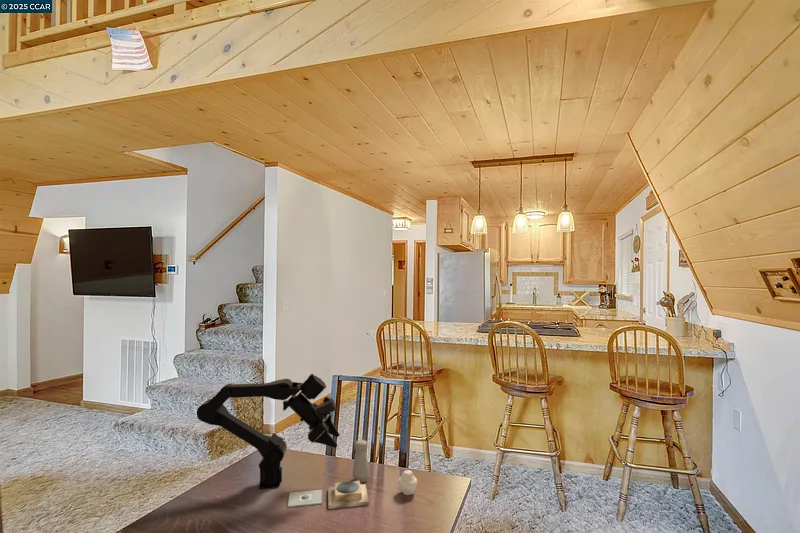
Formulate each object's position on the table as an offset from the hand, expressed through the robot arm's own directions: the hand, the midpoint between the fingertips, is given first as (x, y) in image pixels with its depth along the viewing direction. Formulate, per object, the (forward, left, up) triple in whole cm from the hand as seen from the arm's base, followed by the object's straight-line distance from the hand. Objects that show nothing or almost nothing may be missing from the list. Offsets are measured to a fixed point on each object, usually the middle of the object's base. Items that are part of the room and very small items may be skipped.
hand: (337, 441), depth 142 cm
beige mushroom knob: (+8, -1, -14) cm, 16 cm away
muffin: (+22, -12, -14) cm, 28 cm away
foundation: (+3, -11, -13) cm, 18 cm away
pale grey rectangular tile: (-10, -10, -13) cm, 19 cm away
